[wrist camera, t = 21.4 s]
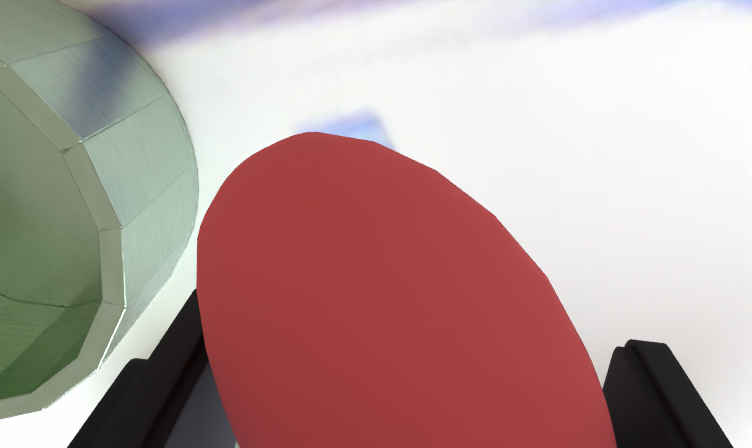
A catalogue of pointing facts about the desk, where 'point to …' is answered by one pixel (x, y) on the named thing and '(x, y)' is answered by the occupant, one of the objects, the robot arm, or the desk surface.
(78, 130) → the tin
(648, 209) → the desk surface
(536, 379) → the red kidney bean
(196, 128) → the desk surface
